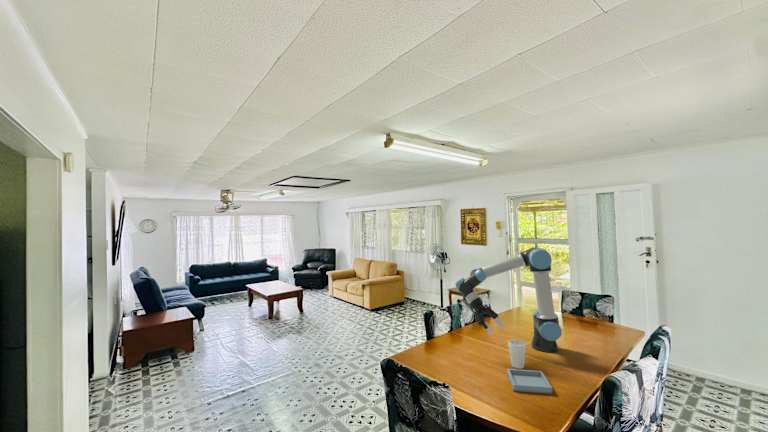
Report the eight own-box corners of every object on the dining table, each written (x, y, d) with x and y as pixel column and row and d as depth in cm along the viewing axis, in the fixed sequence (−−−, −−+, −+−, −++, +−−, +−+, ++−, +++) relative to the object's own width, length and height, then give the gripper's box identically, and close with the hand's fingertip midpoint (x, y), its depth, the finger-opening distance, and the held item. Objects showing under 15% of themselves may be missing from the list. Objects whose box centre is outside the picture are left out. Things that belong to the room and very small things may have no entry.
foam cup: (505, 362, 179) (505, 339, 179) (521, 361, 179) (520, 339, 180) (514, 370, 169) (513, 346, 170) (530, 369, 170) (529, 345, 170)
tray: (542, 376, 161) (541, 371, 161) (552, 394, 144) (552, 387, 145) (507, 374, 165) (507, 368, 165) (513, 391, 148) (513, 384, 148)
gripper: (480, 300, 205) (503, 329, 194) (459, 307, 189) (482, 339, 177) (488, 293, 202) (511, 322, 190) (466, 300, 185) (490, 332, 173)
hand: (497, 330), depth 184 cm, fingers open, 13 cm apart
